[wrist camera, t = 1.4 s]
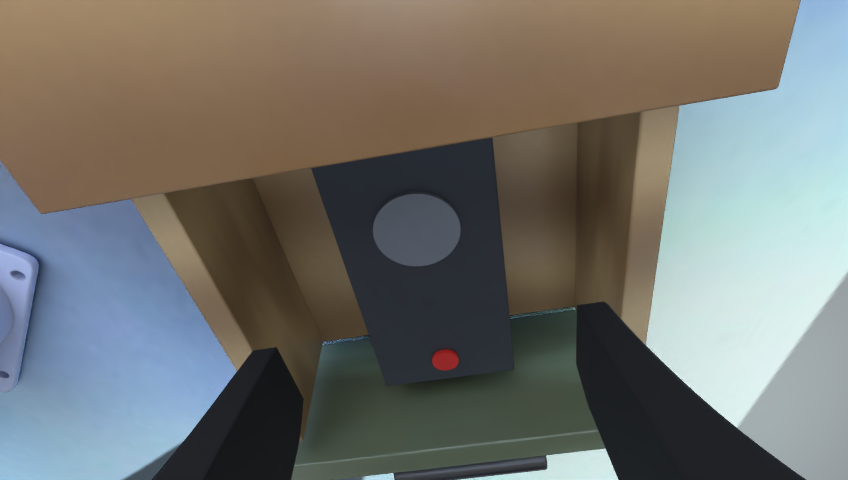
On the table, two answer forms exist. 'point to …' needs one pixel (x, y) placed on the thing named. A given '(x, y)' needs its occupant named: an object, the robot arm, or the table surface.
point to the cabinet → (340, 80)
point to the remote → (425, 258)
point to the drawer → (526, 287)
